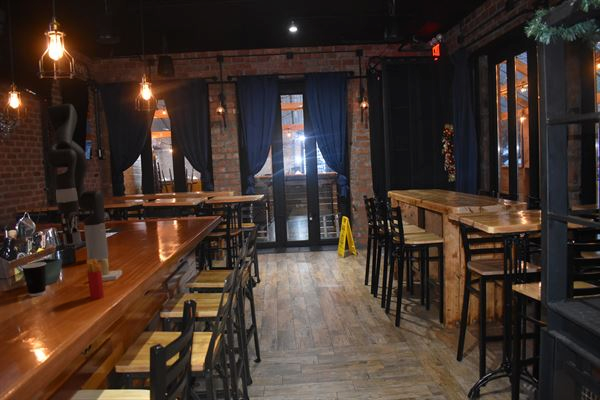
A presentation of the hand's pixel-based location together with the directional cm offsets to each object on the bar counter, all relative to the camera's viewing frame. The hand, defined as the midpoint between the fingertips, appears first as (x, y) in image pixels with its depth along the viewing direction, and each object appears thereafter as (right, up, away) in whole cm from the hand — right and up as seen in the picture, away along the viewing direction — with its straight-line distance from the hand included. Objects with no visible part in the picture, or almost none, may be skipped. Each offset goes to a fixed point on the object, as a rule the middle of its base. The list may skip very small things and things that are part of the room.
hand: (72, 241), depth 195 cm
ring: (0, -1, 0) cm, 1 cm away
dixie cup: (-5, -18, -17) cm, 25 cm away
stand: (+13, -14, +1) cm, 19 cm away
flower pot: (-9, -17, -1) cm, 19 cm away
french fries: (+21, -17, -26) cm, 37 cm away
